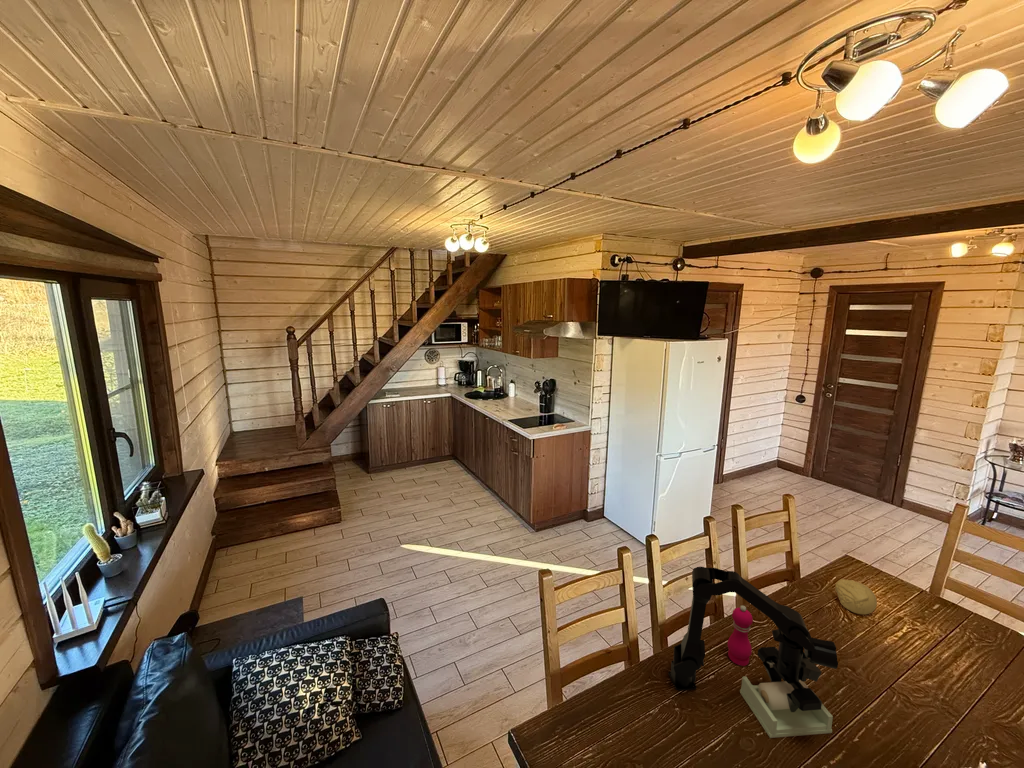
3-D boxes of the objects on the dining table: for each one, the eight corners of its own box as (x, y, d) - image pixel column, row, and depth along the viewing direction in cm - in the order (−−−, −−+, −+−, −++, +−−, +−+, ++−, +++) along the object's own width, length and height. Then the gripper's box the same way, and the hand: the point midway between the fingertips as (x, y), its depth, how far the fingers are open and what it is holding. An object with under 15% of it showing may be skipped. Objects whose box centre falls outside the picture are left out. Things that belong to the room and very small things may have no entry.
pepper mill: (753, 668, 136) (759, 615, 133) (730, 665, 138) (734, 612, 134) (746, 651, 143) (751, 600, 140) (723, 648, 145) (728, 597, 141)
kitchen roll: (796, 692, 125) (799, 674, 124) (813, 713, 119) (816, 694, 118) (756, 695, 124) (758, 677, 123) (770, 716, 118) (772, 697, 117)
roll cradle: (770, 737, 115) (771, 721, 114) (739, 691, 128) (741, 676, 127) (831, 732, 116) (834, 716, 115) (795, 687, 129) (797, 672, 128)
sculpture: (828, 599, 168) (831, 575, 166) (855, 596, 169) (858, 572, 167) (854, 620, 156) (857, 595, 154) (882, 617, 158) (886, 592, 156)
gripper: (844, 682, 110) (837, 730, 113) (793, 628, 128) (788, 671, 131) (804, 684, 109) (797, 733, 112) (758, 630, 128) (754, 673, 130)
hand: (784, 700), depth 121 cm, fingers closed on kitchen roll, 6 cm apart
